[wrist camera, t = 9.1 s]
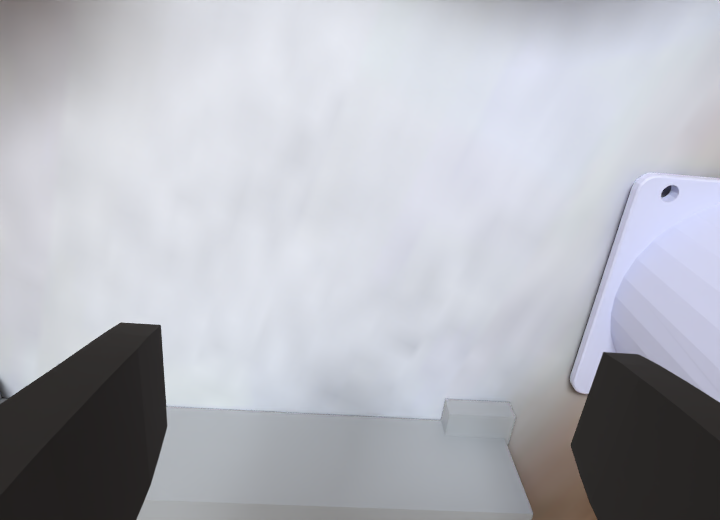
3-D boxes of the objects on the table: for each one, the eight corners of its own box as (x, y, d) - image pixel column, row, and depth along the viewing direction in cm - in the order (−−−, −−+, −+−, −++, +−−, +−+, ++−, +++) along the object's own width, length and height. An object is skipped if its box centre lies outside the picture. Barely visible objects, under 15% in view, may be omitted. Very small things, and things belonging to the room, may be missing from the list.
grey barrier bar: (509, 402, 20) (547, 490, 16) (493, 462, 21) (524, 557, 18) (-79, 371, 18) (-179, 462, 15) (-58, 438, 20) (-147, 537, 16)
